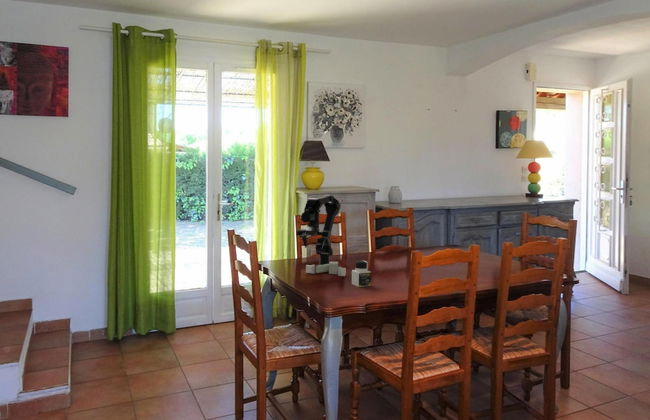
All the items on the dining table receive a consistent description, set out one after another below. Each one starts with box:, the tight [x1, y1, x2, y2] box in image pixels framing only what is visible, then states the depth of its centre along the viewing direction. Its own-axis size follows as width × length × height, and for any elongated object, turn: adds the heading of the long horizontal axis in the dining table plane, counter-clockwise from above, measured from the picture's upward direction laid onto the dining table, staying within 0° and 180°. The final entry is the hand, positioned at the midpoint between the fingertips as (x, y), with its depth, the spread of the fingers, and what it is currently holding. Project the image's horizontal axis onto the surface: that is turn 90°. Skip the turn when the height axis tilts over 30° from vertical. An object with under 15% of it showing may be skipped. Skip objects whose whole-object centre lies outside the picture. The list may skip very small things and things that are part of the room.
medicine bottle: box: [351, 260, 372, 288], centre depth 265 cm, size 7×7×12 cm
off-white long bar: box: [305, 264, 347, 277], centre depth 289 cm, size 2×22×4 cm, turn 72°
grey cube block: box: [328, 261, 339, 275], centre depth 293 cm, size 6×5×6 cm
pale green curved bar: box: [315, 264, 329, 274], centre depth 294 cm, size 12×2×4 cm, turn 129°
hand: (313, 248), depth 300 cm, fingers open, 9 cm apart
